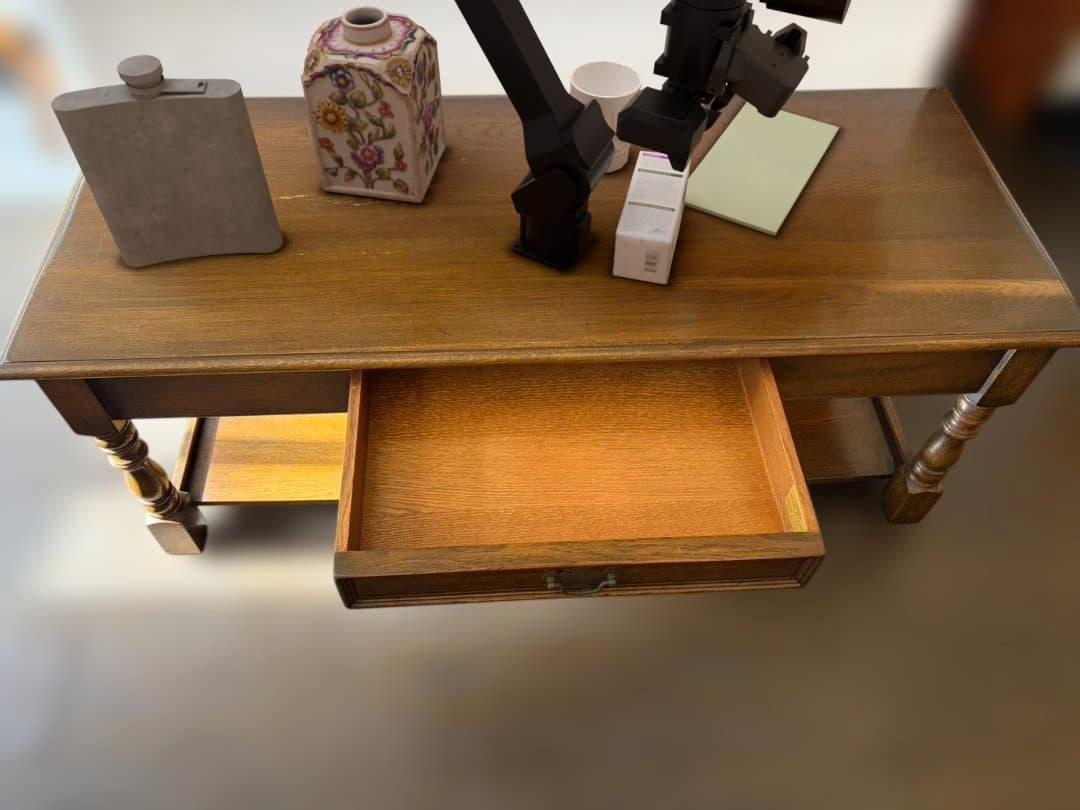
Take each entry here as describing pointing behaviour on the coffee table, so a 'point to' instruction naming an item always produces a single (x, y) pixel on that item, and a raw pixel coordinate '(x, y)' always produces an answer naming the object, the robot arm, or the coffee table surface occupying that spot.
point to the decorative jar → (374, 104)
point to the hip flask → (171, 164)
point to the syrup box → (650, 219)
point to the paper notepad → (759, 168)
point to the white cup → (607, 95)
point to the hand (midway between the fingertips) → (679, 169)
